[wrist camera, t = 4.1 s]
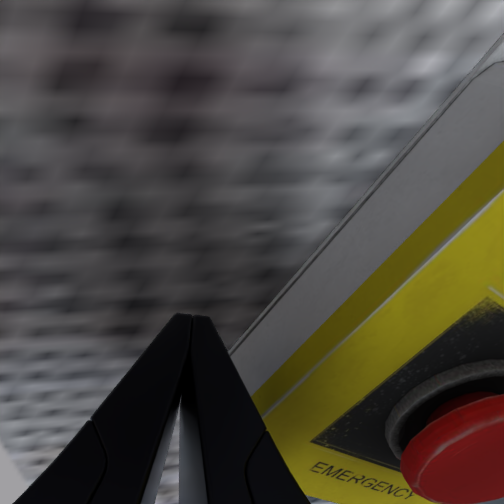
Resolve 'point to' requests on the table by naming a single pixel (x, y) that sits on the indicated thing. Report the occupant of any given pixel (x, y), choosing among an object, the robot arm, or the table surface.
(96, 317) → the table surface
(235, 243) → the table surface
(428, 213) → the emergency button
